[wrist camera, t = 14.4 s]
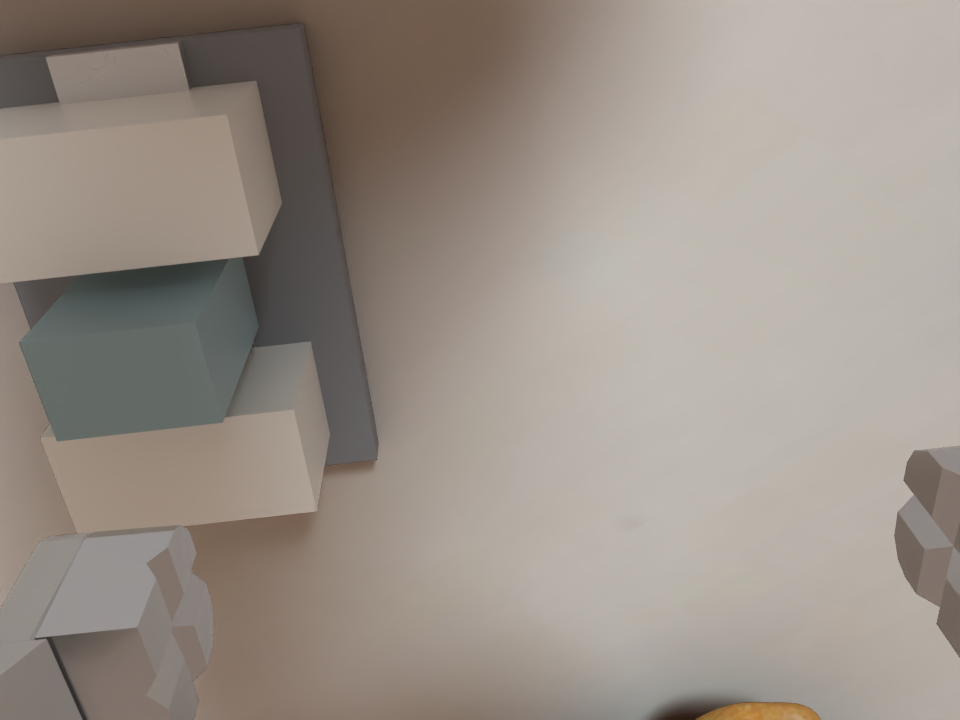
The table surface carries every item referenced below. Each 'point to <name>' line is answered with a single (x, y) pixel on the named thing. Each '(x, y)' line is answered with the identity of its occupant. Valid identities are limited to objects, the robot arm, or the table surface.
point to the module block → (143, 348)
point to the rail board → (191, 257)
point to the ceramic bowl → (761, 712)
